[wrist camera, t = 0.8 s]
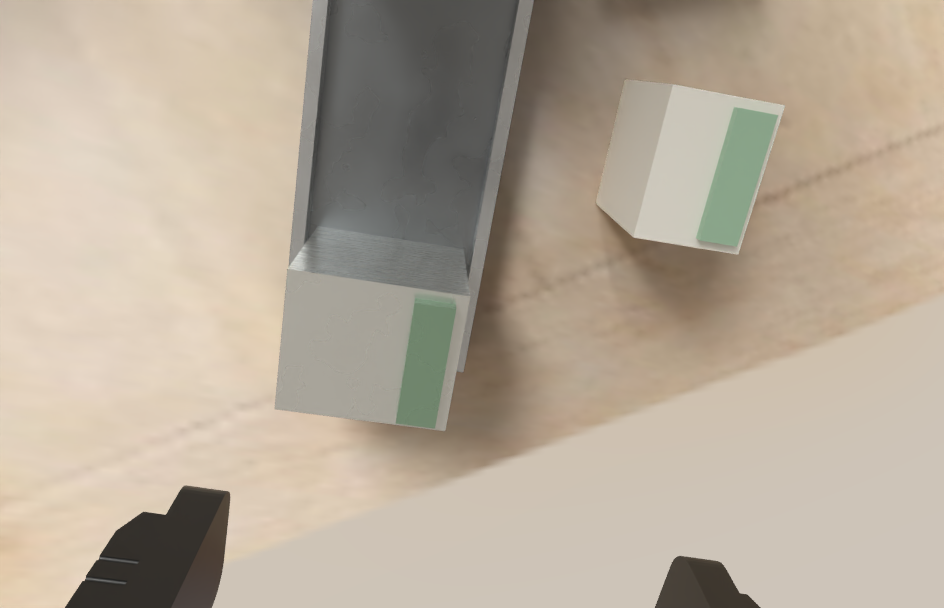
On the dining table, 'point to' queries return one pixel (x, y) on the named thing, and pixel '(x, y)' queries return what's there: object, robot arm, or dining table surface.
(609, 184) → the block
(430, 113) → the rail board
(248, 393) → the dining table surface
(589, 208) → the dining table surface
